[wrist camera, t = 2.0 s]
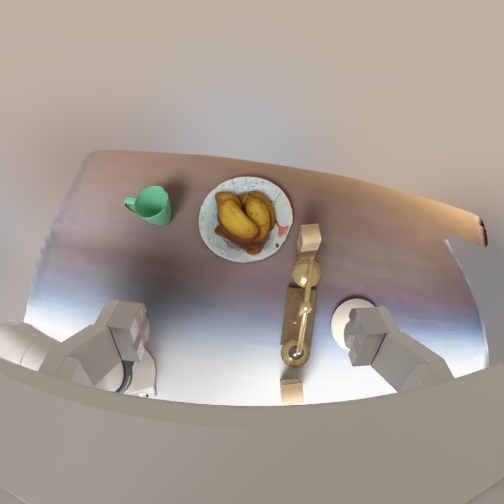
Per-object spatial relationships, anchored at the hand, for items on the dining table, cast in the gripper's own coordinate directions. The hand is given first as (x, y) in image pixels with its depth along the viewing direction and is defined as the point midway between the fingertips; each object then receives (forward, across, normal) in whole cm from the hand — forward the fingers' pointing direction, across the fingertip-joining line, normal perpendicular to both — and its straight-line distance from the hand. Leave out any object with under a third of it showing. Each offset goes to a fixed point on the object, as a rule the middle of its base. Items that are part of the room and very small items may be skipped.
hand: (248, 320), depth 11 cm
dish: (+39, +28, -38) cm, 61 cm away
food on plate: (+64, 0, -22) cm, 68 cm away
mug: (+67, -26, -23) cm, 75 cm away
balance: (+42, +14, -38) cm, 58 cm away
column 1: (+30, +12, -49) cm, 58 cm away
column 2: (+55, +16, -27) cm, 63 cm away
